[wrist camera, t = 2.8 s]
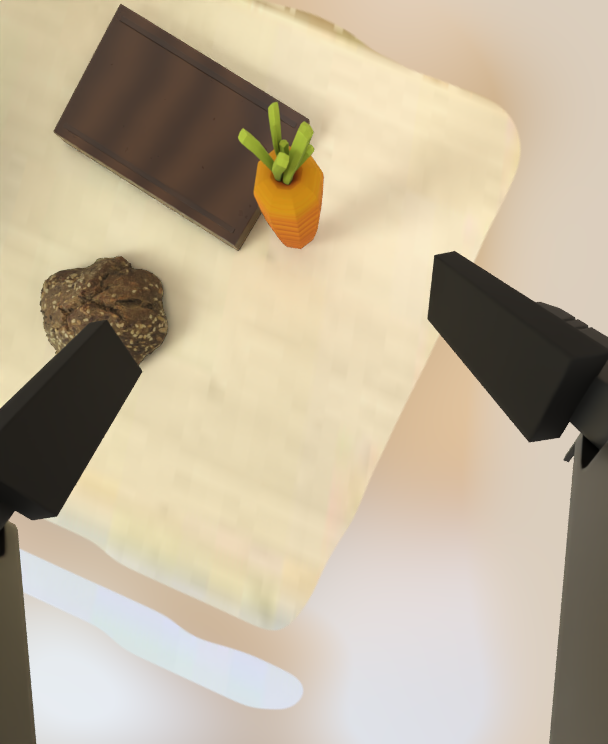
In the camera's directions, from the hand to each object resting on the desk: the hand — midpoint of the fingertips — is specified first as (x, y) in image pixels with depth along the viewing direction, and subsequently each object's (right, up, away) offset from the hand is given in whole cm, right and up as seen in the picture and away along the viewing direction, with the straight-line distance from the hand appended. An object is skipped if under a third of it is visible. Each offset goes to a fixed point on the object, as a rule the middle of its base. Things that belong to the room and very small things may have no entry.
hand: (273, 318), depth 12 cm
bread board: (-11, +22, +18) cm, 31 cm away
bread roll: (-19, +4, +20) cm, 28 cm away
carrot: (+1, +11, +18) cm, 21 cm away
